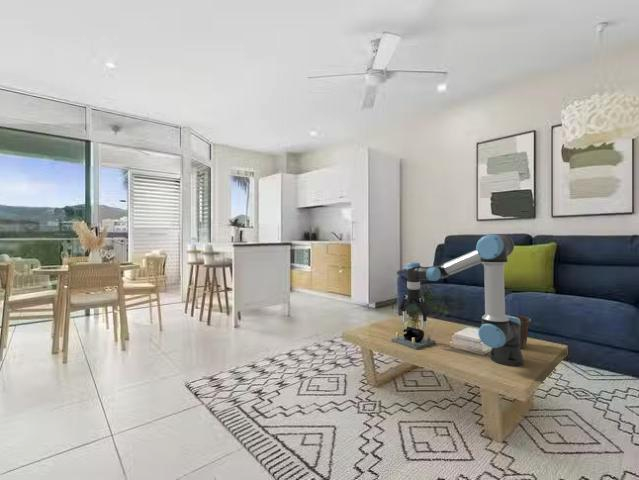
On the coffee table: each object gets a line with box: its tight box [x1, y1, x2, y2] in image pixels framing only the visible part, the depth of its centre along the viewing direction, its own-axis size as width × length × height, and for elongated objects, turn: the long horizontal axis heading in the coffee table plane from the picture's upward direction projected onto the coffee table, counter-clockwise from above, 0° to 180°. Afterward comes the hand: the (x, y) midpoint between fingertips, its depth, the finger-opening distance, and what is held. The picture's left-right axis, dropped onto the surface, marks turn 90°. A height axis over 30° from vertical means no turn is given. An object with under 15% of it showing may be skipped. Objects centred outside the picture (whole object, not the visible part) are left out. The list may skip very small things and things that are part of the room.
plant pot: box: [505, 313, 531, 349], centre depth 193 cm, size 16×16×16 cm
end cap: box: [403, 326, 425, 343], centre depth 198 cm, size 10×7×7 cm
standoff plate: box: [390, 332, 436, 351], centre depth 198 cm, size 18×18×6 cm
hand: (413, 324), depth 197 cm, fingers open, 13 cm apart
